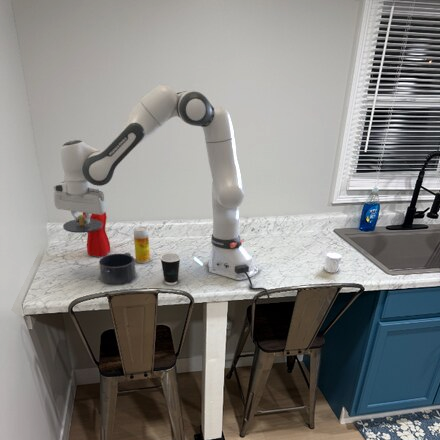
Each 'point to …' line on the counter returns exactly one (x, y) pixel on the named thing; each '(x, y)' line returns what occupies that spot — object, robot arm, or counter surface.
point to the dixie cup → (170, 267)
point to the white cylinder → (332, 262)
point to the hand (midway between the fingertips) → (82, 222)
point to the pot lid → (82, 225)
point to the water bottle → (98, 238)
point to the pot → (117, 269)
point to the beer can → (141, 244)
